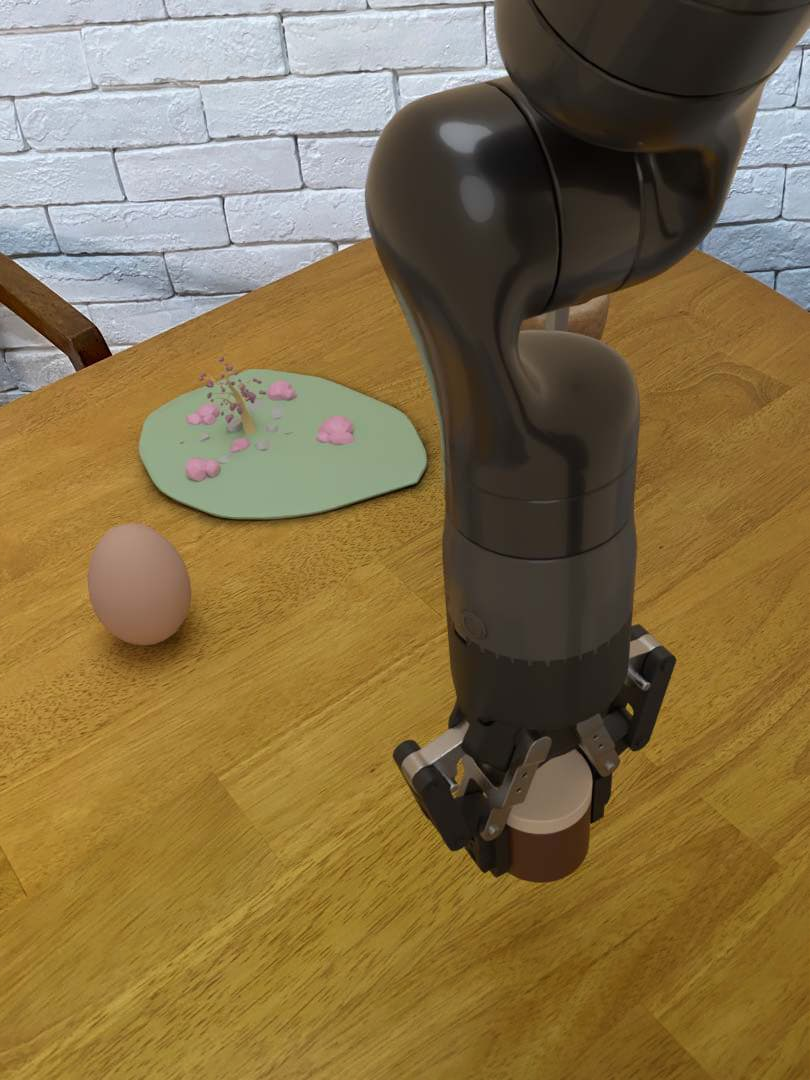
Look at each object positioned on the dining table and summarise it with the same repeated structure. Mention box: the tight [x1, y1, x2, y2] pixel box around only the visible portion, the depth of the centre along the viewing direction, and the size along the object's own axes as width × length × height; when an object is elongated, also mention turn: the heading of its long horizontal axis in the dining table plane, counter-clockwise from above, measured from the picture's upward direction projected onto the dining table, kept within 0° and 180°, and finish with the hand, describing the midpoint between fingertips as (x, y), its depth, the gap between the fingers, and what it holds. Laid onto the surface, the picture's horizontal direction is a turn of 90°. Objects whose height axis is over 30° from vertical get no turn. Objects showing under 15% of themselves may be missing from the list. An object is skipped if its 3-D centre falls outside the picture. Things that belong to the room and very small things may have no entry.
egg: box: [86, 522, 192, 646], centre depth 77 cm, size 7×7×10 cm
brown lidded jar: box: [485, 749, 592, 884], centre depth 55 cm, size 5×5×5 cm
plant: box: [138, 356, 428, 520], centre depth 94 cm, size 25×21×9 cm
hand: (538, 834), depth 56 cm, fingers closed on brown lidded jar, 5 cm apart
